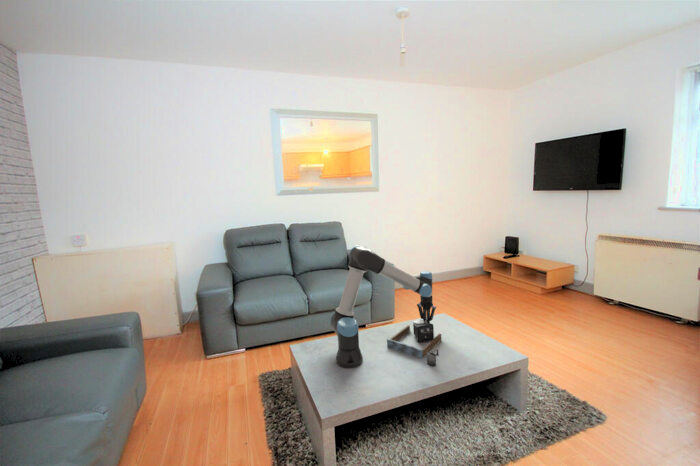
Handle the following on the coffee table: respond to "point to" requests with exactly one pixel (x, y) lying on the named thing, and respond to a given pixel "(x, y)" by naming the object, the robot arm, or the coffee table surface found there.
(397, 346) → the bay
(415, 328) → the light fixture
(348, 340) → the robot arm
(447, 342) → the coffee table surface
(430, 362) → the winch drum
